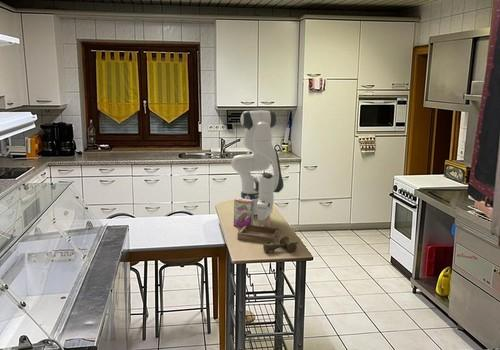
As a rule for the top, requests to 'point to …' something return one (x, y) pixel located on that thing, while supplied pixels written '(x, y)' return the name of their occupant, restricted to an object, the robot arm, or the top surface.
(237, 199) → the candy bar box
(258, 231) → the tray
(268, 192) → the robot arm
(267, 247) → the kendama
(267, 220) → the peach rounded capsule
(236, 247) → the top surface
